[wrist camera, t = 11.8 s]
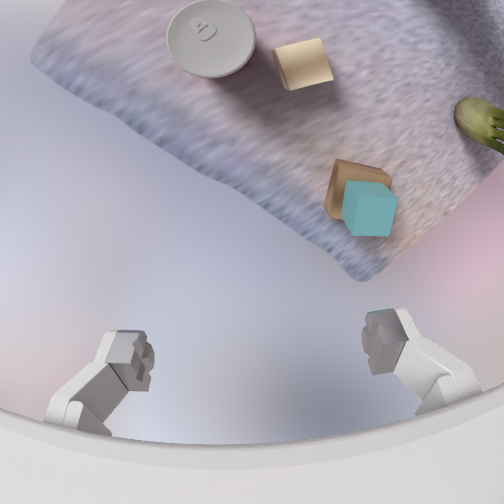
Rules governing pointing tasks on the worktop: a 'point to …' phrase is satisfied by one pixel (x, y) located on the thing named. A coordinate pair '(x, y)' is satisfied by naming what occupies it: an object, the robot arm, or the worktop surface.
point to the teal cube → (368, 208)
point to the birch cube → (302, 64)
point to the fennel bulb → (480, 122)
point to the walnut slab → (352, 173)
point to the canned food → (211, 38)
